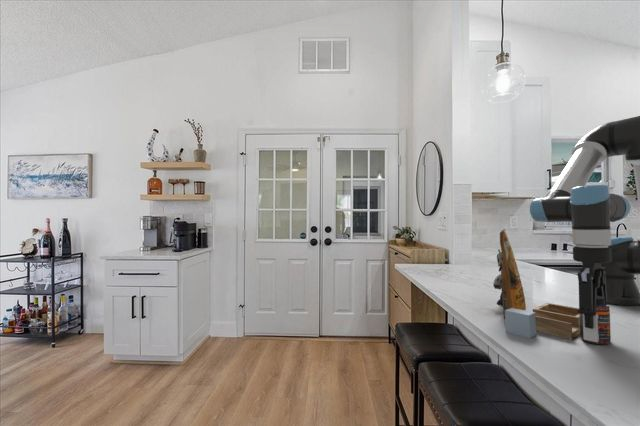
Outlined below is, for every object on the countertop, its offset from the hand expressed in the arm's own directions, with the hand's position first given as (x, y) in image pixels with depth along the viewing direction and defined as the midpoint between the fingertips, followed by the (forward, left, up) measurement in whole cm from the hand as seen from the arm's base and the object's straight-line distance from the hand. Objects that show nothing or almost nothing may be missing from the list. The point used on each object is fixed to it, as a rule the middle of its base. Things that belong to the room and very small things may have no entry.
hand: (595, 337), depth 81 cm
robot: (-20, -31, -1) cm, 36 cm away
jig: (-6, -10, -1) cm, 12 cm away
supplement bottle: (0, 0, -1) cm, 1 cm away
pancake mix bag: (-7, -23, -1) cm, 24 cm away
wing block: (+8, -14, -1) cm, 16 cm away
